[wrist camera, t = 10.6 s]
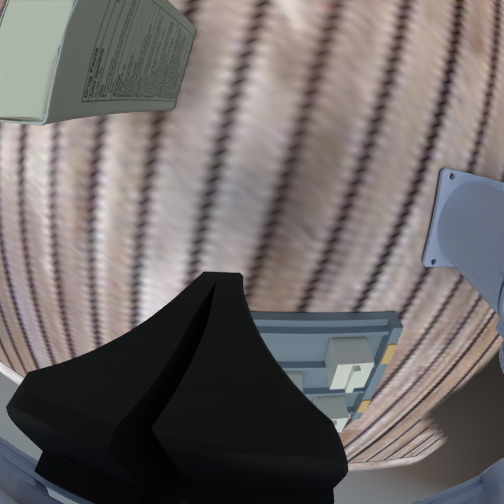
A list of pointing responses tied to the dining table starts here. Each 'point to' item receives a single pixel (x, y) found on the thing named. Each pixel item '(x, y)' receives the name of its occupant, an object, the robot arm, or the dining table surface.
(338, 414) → the tab
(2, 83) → the skincare box
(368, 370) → the tab
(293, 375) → the tab
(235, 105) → the dining table surface
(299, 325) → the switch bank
